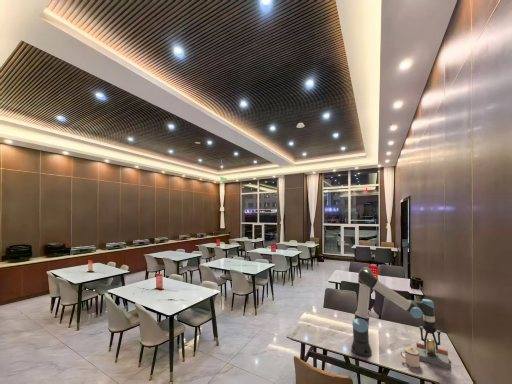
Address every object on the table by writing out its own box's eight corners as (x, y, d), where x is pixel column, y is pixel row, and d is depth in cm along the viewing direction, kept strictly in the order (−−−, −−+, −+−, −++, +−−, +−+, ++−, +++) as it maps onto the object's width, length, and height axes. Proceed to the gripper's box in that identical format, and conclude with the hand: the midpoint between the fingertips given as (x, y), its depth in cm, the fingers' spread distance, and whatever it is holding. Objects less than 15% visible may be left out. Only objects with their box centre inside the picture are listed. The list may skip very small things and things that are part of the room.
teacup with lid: (420, 362, 174) (418, 346, 175) (420, 369, 167) (419, 352, 168) (401, 357, 181) (400, 341, 182) (400, 363, 173) (399, 346, 175)
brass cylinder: (427, 354, 179) (426, 340, 180) (427, 351, 182) (426, 337, 183) (435, 356, 176) (434, 342, 177) (435, 353, 179) (434, 339, 181)
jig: (415, 358, 179) (415, 350, 180) (416, 349, 192) (416, 341, 192) (449, 369, 167) (448, 360, 168) (448, 358, 180) (447, 350, 180)
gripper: (415, 319, 184) (417, 350, 181) (443, 325, 173) (446, 358, 171) (415, 316, 190) (417, 346, 187) (443, 321, 179) (445, 354, 177)
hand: (431, 352), depth 179 cm, fingers closed on brass cylinder, 5 cm apart
